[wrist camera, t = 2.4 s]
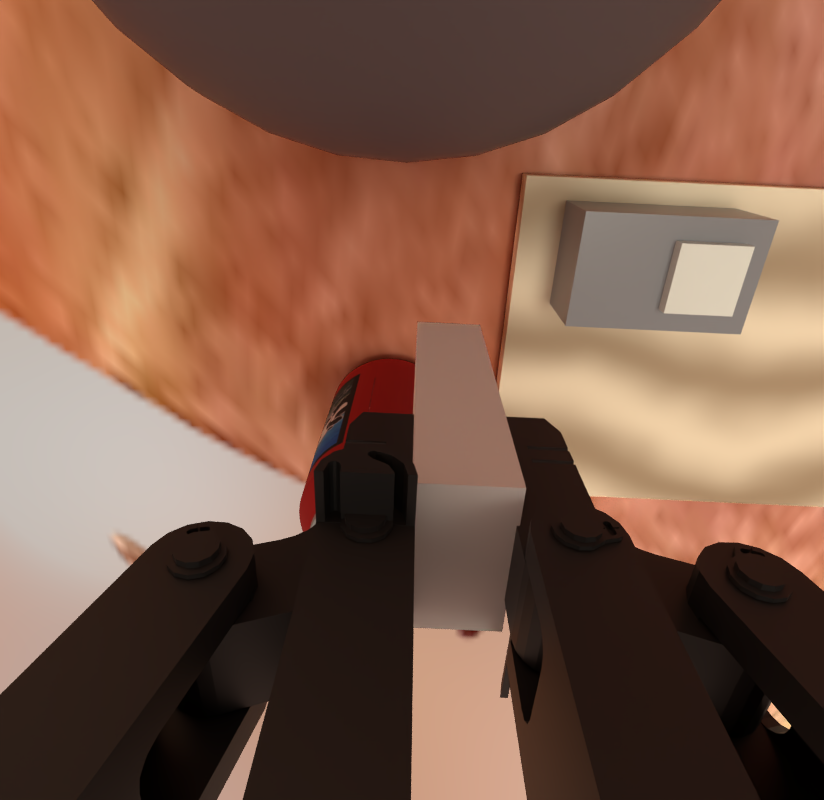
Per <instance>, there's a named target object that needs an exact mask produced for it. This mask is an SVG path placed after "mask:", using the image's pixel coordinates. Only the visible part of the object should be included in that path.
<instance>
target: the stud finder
mask: <svg viewBox="0 0 824 800" xmlns="http://www.w3.org/2000/svg"><path fill="white" fill-rule="evenodd" d="M778 223H779V220H776V219H772V218H769V217H765V216H762V215H758V214H754V213H751V212H747V211H744V210H740V209H736V208H717V207H696V206H675V205H654V204H633V203H612V202H592V201H571V200H566V206H565V212H564V218H563V224H562V231H561V237H560V243H559V249H558V255H557V261H556V267H555V273H554V279H553V286H552V292H551V298H550V305H551V306H552V307H553V309H554V310H555V312H556V313H557V315H558V316H559V318H560V319H561V321H562V322H563V323H564V325H565V326H573V327H594V328H615V329H636V330H657V331H678V332H699V333H720V334H741V332H742V329H743V326H744V323H745V320H746V317H747V314H748V311H749V308H750V305H751V302H752V299H753V296H754V293H755V291H756V288H757V285H758V282H759V279H760V276H761V273H762V270H763V267H764V264H765V261H766V258H767V255H768V252H769V249H770V246H771V243H772V240H773V237H774V234H775V231H776V229H777V226H778Z"/></svg>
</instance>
